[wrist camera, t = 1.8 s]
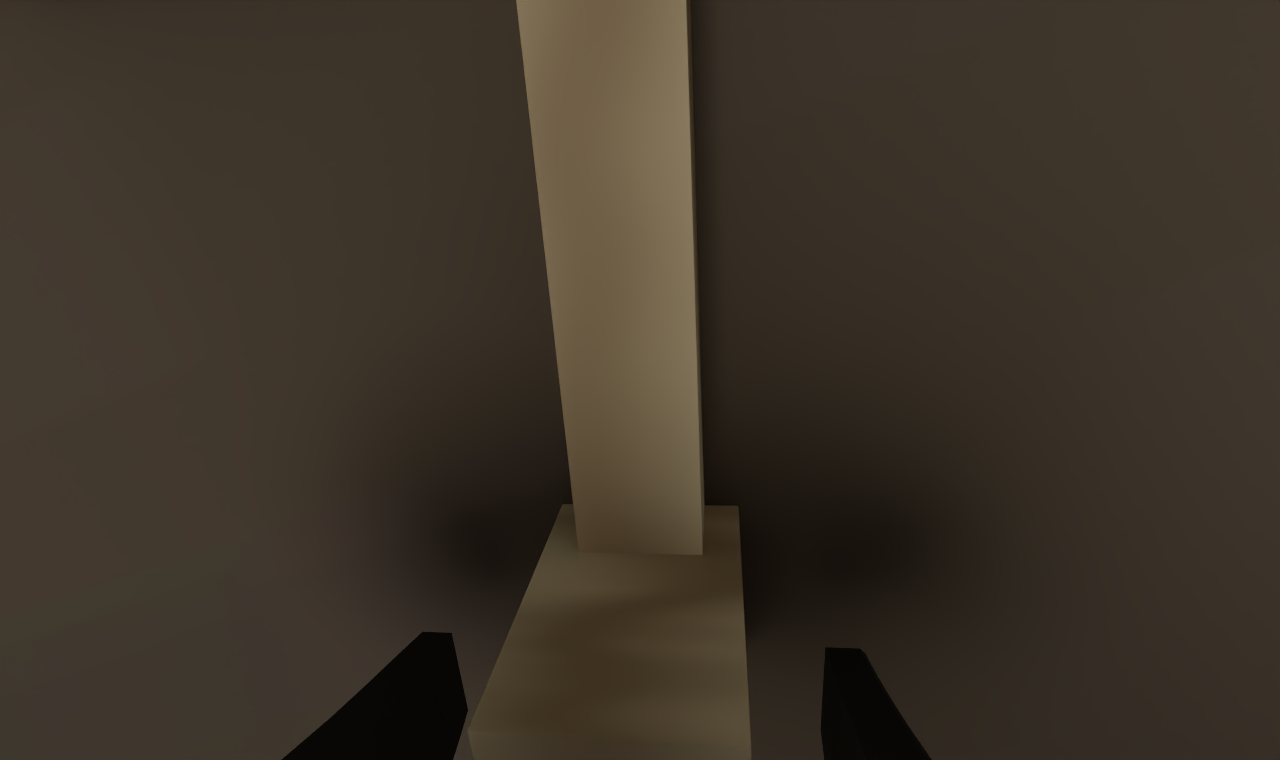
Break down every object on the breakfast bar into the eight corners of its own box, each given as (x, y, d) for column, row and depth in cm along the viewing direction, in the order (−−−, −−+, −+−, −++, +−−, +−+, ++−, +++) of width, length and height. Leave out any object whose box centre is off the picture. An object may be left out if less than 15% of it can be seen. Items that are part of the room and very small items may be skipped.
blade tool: (834, -174, 10) (988, -584, 4) (802, 649, 15) (849, 941, 10) (399, -121, 11) (48, -399, 5) (521, 638, 16) (419, 900, 11)
